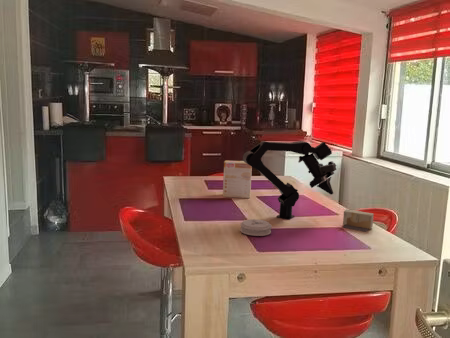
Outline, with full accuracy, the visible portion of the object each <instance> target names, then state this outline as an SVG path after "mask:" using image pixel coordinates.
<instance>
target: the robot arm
mask: <svg viewBox="0 0 450 338" xmlns="http://www.w3.org/2000/svg"><path fill="white" fill-rule="evenodd" d="M268 151H270V152H271V151H272V152H273V151H275V152H292V153H296V154H300V155H299V156H298V161H297V162H298V164H299V163H301V162H303V164H304V165H305V167H306V168H307V169H308V171H307V173H308V174H311V176H312V177H313V179H312V180H311V181H309V186H310V188H311V189H312V188H313V189H314V187H317V188H319V189H321V190H323V191H325V192H327V194H329V195H330V196H331V195H333V194H334V191H333V187H332V184H331V179H332V176H334V175H335V171H337V164H336V163H335V162H334V161H328V163H327V164H323V163H321V162H320V161H323V160H325V159H326V158H327V157H329V156H331V155H332V153H333V152H332V150H331V148H330V147H329V146H328V145H327V143H326V142H324V141H322V142H321V143H320V144H318V145H316V146H315V147H314V146H312V145H311V144H310V143H309V142H307V141H304V140H297V141H292V142H282V141H281V142H278V141H266V140H262V141H261V142H259V143H258V144H257V145H256V146H254V147H253V148H251V149H250V150H247V151H246V152H245V153H244V154H242V161H244V162H245V163H247V164H248V165H250V166H252V169H253V168H254V169H255V170H257V171H258V172H259V173H260V174H261V175H262V176H263V177H264V178H265V179H267V181H269V182H270V183H271V184H272V185H273V186H274V187H275V188H277V189H278V192H280V195H279V196H278V197H277V201H278V203H279V214H278V215H276V218H280V219H285V220H291V219H292V218H294V217H295V215H294V214H293V207H295V204H296V203H297V202H298V200H299V198H300V193H299V192H298V191H299V190H298V189H297V188H295V187H294V186H293V184H291V183H290V182H286V183H284V181H282V180H281V179H280V178H279V177H278V176H277V175H276V174H274V172H273V171H271V170H270V168H268V167H267V166H266V165H265V164H264V162H263V161H262V158H263V156H264V155H265V153H266V152H268ZM319 160H320V161H319Z"/></svg>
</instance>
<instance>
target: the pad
mask: <svg viewBox="0 0 450 338" xmlns="http://www.w3.org/2000/svg"><path fill="white" fill-rule="evenodd" d="M342 228H345V229H349V230H354V231H360V232H365V233H366V232H368V231H369V230H370V229H368V228H362V227H356V226H351V225H345V224H343V226H342Z"/></svg>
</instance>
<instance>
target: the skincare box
mask: <svg viewBox="0 0 450 338" xmlns="http://www.w3.org/2000/svg"><path fill="white" fill-rule="evenodd" d="M342 219H343V221H342V225H351V226H356V227H362V228H368V229H369V230H371V229H372V228H373V225H374V213H372V212H368V211H367V212H365V211H360V210H353V209H348V208H346V209H345V210H344V211H343V217H342Z"/></svg>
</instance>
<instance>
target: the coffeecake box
mask: <svg viewBox="0 0 450 338" xmlns="http://www.w3.org/2000/svg"><path fill="white" fill-rule="evenodd" d="M252 169H253V167H252V166H250V165H248V164H247V163H245V162H244V161H243V160H228V159H227V160H224V161H223V182H222V197H223V198H238V199H239V198H240V199H242V198H243V199H251V189H252V171H253V170H252Z"/></svg>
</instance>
